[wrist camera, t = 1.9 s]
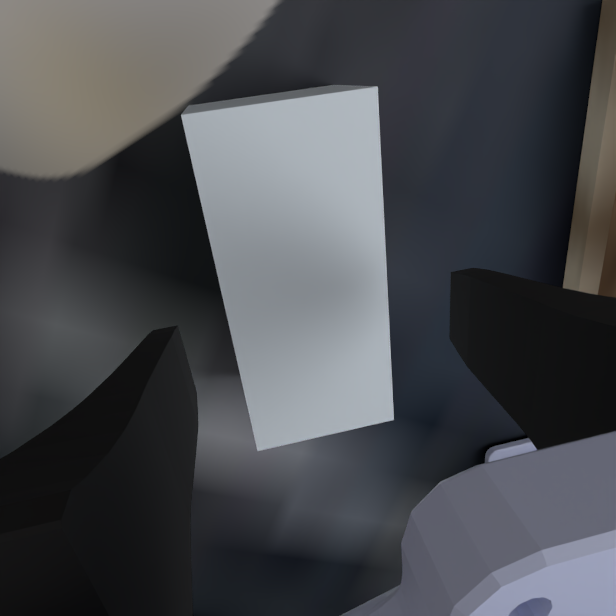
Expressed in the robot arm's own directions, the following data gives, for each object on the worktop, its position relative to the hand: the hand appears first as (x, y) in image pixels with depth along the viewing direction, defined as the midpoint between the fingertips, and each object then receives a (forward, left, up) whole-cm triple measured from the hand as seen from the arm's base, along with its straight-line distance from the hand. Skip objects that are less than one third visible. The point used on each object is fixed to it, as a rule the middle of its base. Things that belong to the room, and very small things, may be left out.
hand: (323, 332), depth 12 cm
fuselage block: (0, 0, -7) cm, 7 cm away
